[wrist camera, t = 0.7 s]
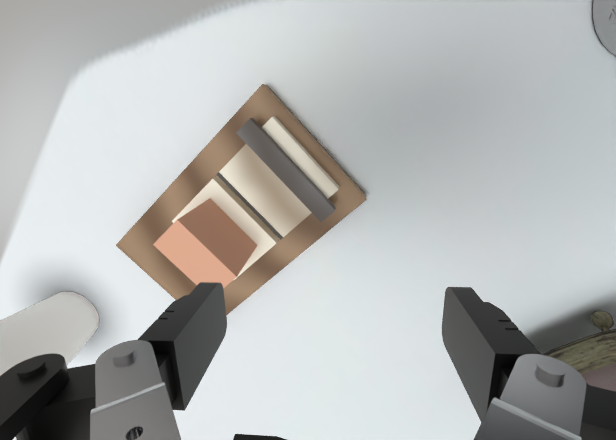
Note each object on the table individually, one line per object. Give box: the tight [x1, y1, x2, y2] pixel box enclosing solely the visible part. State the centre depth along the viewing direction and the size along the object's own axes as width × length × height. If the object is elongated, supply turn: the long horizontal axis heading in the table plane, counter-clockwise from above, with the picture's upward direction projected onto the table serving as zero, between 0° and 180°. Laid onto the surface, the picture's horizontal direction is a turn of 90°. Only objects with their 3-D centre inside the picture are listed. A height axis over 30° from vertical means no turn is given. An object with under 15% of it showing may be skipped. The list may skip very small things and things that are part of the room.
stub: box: [153, 176, 279, 288], centre depth 28 cm, size 6×8×7 cm
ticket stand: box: [116, 84, 366, 315], centre depth 31 cm, size 22×13×4 cm, turn 133°
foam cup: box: [0, 292, 99, 376], centre depth 33 cm, size 10×9×13 cm
